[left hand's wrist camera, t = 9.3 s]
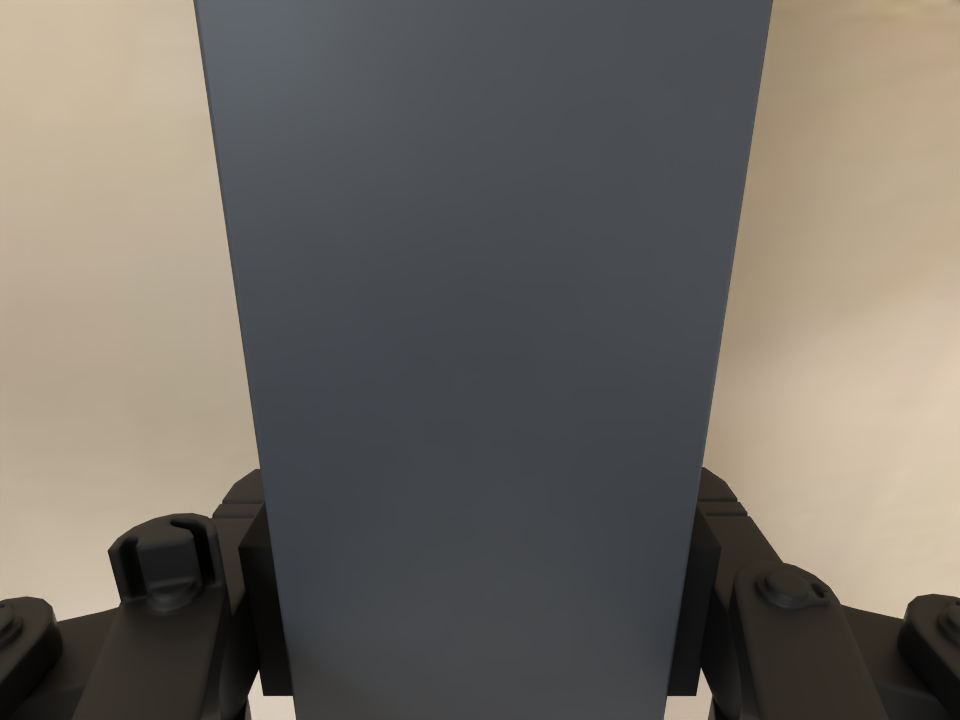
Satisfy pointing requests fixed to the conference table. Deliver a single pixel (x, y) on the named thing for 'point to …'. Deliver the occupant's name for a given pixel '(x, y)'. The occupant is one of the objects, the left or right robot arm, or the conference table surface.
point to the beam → (481, 333)
